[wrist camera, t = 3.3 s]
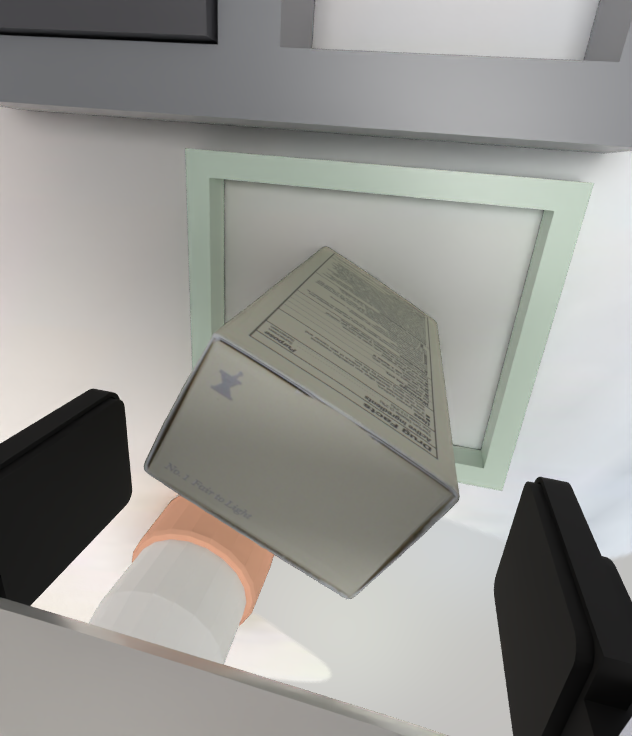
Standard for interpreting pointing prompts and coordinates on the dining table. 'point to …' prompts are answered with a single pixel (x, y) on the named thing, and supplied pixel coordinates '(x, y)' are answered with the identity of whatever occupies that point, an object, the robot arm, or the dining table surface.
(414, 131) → the socket strip
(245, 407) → the skincare box
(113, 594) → the salt shaker
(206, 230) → the tray
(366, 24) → the dining table surface
